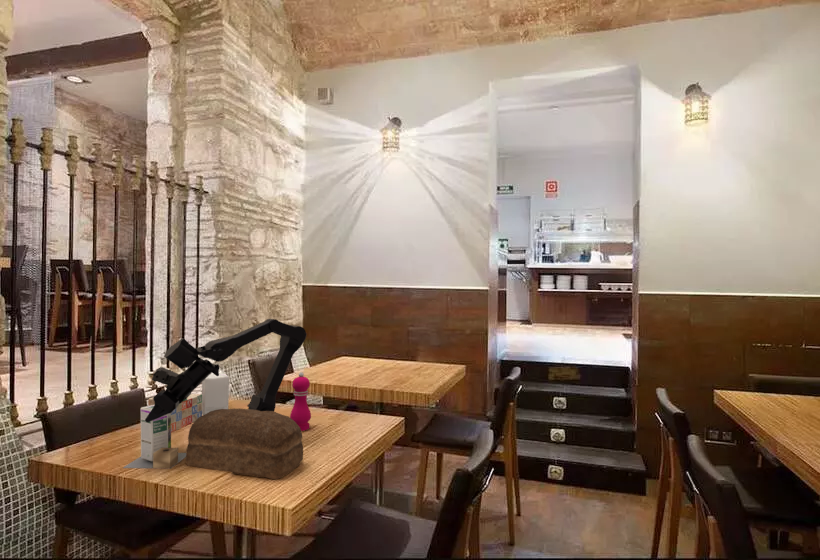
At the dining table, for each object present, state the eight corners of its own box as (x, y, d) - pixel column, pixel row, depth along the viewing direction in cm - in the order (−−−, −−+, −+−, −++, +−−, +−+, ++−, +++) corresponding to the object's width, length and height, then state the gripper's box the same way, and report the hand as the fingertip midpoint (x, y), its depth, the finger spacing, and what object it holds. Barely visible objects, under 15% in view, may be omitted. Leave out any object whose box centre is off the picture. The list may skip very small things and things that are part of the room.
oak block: (177, 462, 132) (178, 447, 132) (169, 468, 128) (170, 453, 128) (161, 462, 132) (162, 447, 132) (153, 468, 128) (153, 452, 128)
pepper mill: (314, 429, 166) (314, 372, 166) (294, 433, 162) (295, 374, 162) (306, 424, 172) (307, 369, 172) (286, 428, 168) (287, 371, 168)
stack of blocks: (187, 417, 180) (187, 385, 180) (202, 418, 179) (202, 386, 179) (147, 434, 159) (147, 398, 159) (163, 436, 158) (164, 399, 158)
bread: (281, 482, 121) (282, 420, 122) (178, 468, 130) (179, 410, 130) (308, 462, 135) (309, 407, 136) (214, 451, 144) (215, 399, 144)
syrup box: (151, 462, 131) (151, 409, 131) (140, 457, 134) (140, 406, 134) (171, 455, 136) (171, 405, 136) (159, 451, 139) (160, 402, 139)
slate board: (190, 455, 140) (191, 452, 140) (170, 471, 128) (170, 468, 128) (146, 455, 139) (147, 452, 140) (122, 470, 127) (122, 467, 127)
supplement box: (228, 415, 184) (229, 376, 185) (204, 417, 180) (204, 378, 180) (225, 409, 192) (225, 372, 192) (201, 412, 188) (201, 374, 188)
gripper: (180, 353, 145) (140, 391, 142) (161, 363, 127) (115, 406, 124) (207, 378, 147) (168, 415, 144) (193, 391, 128) (148, 434, 126)
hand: (150, 417), depth 135 cm, fingers closed on syrup box, 8 cm apart
